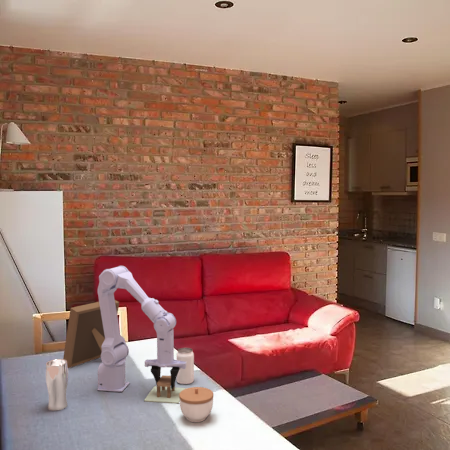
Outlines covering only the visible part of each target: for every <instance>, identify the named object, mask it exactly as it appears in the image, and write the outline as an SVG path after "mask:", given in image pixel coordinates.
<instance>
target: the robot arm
mask: <svg viewBox="0 0 450 450" xmlns="http://www.w3.org/2000/svg"><path fill="white" fill-rule="evenodd" d="M98 281H99V283H98V286H97V295H98V302H99V304H100V310H101V316H102V322H103V329H104V335H105V340H104V342H103V344H102V346H101V348H102V353H101V357H100V359H101V360H100V361H101V362H100V363H99V366H98V368H97V389H96V390H97V391H101V392H119V393H121V392H123V391H124V390H125V389H126V388H127V387H128V385H130V381H126V360H127V357H128V355H129V352H130V350H129V349H130V348H129V345H127V343H126V340H125V337H124V336H122V335H121V331H120V325H119V318H118V313H117V311H116V305H115V300H116V299H115V292H116V291H117V289H123V290H126V291H127V292H128V293H130V295H131V296H132V297H133V298H134V299H136V301H137V302H139V303H140V305H141V307H140V308H141V311H142V312H143V313H144V314H145V315H146V316H147V318H149V320H150V321H151V322H152V324H153V328H154V330H155V332H156V344H157V345H156V346H157V347H156V352H157V353H156V358H155V359H145V361H144V368H145V367H146V368H148V367H150V373H151V374H152V376H153V378H154V381H155V384H156V385H155V386H157V382H158V381H159V379H160V378H161V373H162V372H161V370H162V368H170V371H169V373H170V376H171V389H173V388H174V386H175V387H176V381H177V374H178V372H179V369H180V368H182V369H185V368H186V362H184V361H178V360H177V359H174V358H175V355H174V351H175V350H174V348H175V346H174V340H175V339H174V337H175V336H174V332H175V331H174V330H175V329H174V328H175V327H176V325H177V319H176V316H174V314H173V313H171V312H168V311H167V310H165V309H164V307H162V306H161V305H160V304H159V302H160V301H159V300H158V299H155V298H154V297H152V298H151V297H149V296H148V295H147V294H146V292H145V291H144V290H143V288H142V287H141V286H140V285H139V284H138V282H137V281H136V280H135V278H134V277H133V273H132V272H131V271H130V270H129V269H128V268H127V267H126V266H124V265H118V266H115V267H112V268H105V269H104V270H103V271H102V272H100V274H99V276H98Z"/></svg>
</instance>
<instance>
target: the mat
mask: <svg viewBox="0 0 450 450" xmlns="http://www.w3.org/2000/svg"><path fill="white" fill-rule="evenodd" d="M184 389H187V387H176V386H175V391H172V389H171V397H170V398H167V387H165V390H162V387H161V396H160V397H157V385H155V386H153V387H152V389H151V390H150V391H149V393H148V394H147V395H146V397H145V398H144V400H143V402H146V403H147V402H149V403H163V404H177V405H178V404H179V405H180V398H179V394H180V392H181V391H182V390H184Z"/></svg>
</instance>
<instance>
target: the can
mask: <svg viewBox="0 0 450 450" xmlns="http://www.w3.org/2000/svg"><path fill="white" fill-rule="evenodd" d="M176 360H178V361H184V362H186V368H185V369H182V368H180V369H179V372H178V374H177V377H176V382H177V383H178V384H180V385H189V384H192V383H193V382H194V380H195V369H194V367H195V365H194V364H195V353H194V352H193V348H190V347H181V348H178V349H177V353H176Z"/></svg>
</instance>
